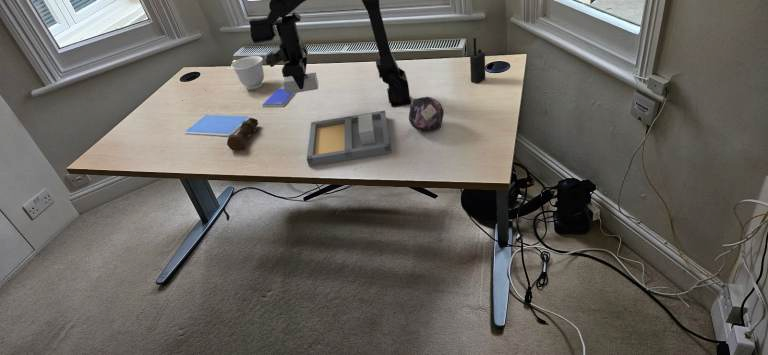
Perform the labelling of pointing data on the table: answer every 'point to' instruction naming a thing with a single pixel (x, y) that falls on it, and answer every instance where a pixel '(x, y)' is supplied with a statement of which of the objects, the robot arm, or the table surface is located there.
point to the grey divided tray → (348, 138)
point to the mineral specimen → (426, 114)
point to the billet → (309, 84)
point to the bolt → (242, 135)
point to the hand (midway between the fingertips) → (302, 86)
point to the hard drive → (278, 99)
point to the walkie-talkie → (477, 65)
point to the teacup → (249, 71)
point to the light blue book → (217, 125)
